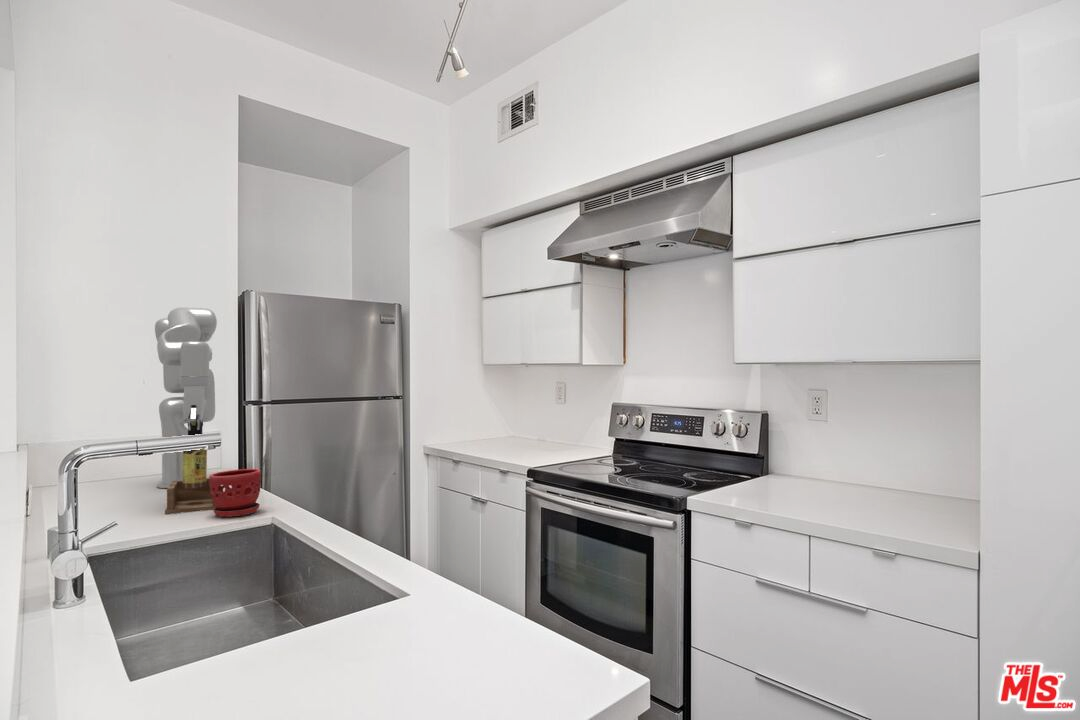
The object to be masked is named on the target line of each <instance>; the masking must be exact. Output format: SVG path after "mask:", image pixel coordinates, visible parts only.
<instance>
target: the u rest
mask: <svg viewBox="0 0 1080 720" xmlns="http://www.w3.org/2000/svg"><path fill="white" fill-rule="evenodd" d="M215 508H217V507H216V506H215V504H214V502H213V500H212V497H211V493H210V483H209V478H207V480H206V485H205V487H203V488H197V489H184V488H183V483H182V481H172V483H171V484H170V486H169V487H168V488H166V508H165V510H164V515H172V514H171V513H173V514H182V513H181V512H183V513H191V512H192V511H193V512H201V511H200V510H202V511H209V509H212V510H214V509H215ZM193 512H192V513H193Z"/></svg>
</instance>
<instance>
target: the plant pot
mask: <svg viewBox="0 0 1080 720" xmlns="http://www.w3.org/2000/svg"><path fill="white" fill-rule="evenodd" d="M261 471H262V470H260V469H259V468H241V469H233V470H232V469H230V470H226V471H220V472H219V471H218V472H215V473H212V474H210V475H209V483H210V493H211V497H212V500H213V502H214V504H215V506H216V507H217V508H215V509H213V513H214V514H215V515H216V516H218V517H221V518H230V517H231V518H232V517H233V516H235V517H240V516H241V515H242V516H246V514H247V515H251V514H250V513H252V514H254V512H256V511H257V510H258V509H259V508H260V503H258V502H257V500H258V498H259V496H260V492H261V487H262V486H261V484H262V483H261V481H262V472H261ZM230 486H231V487H230Z"/></svg>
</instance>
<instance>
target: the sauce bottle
mask: <svg viewBox="0 0 1080 720" xmlns="http://www.w3.org/2000/svg"><path fill="white" fill-rule="evenodd" d="M187 428H188V431H189V422H188V423H187ZM203 428H204V422H202V421H200V426H199V430H200V433H201V434H203ZM207 456H208V449H207V450H204V449H200V450H191V451H183V480H182V483H183V488H184V489H197V488H203V487H205V485H206V480H207V479H208V478H207V476H208V473H207V472H208V471H207V467H208V465H207V463H208V462H207V461H208V457H207Z"/></svg>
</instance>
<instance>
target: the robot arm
mask: <svg viewBox="0 0 1080 720" xmlns="http://www.w3.org/2000/svg"><path fill="white" fill-rule="evenodd" d="M217 321H218V320H217V316H216V314H215V313H214V311H213V310H212V309H210V308H204V307H203V308H202V307H199V308H198V307H175V308H173V309H172V310H170V311H169V313H168V314H167V317H163V318H160V319H158V320H156V322H155V324H154V333H155V334H154V335H155V338H156V342H157V344H156V347H157V348H156V350H157V355H158V360H159V362H160V363H161V364H162V371H163V372H162V375H163V388H164V390H165V391H166V392H167V393H170V394H183V396H174V397H173V396H172V397H169V398H165V399H162V400H161V402H160V403H159V405H158V411H159V412H158V413H159V418H160V426H161V427H160V428H161V438H162V437H172V436H182V435H195V434H201V433H200V430H199V426H200V421H202V422H203V423H207V422H211V421H213V420H214V418H215V415H216V386H215V376H214V372H213V370H212V369H211V368H210V362H211V361H212V360H213V349H212V348H211V347H210V345H209V344H208V342H210V340H211V339H212V337H213V335H214V334H215V332H216V329H217V324H218V323H217ZM188 422H189V431H188V426H186V424H188ZM182 480H183V452H174V453H164V454H162V453H161V482H160V481H159V482H157V483H156V488H159V489H168V487H169V486H170V484H171V483H172V481H182Z"/></svg>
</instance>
